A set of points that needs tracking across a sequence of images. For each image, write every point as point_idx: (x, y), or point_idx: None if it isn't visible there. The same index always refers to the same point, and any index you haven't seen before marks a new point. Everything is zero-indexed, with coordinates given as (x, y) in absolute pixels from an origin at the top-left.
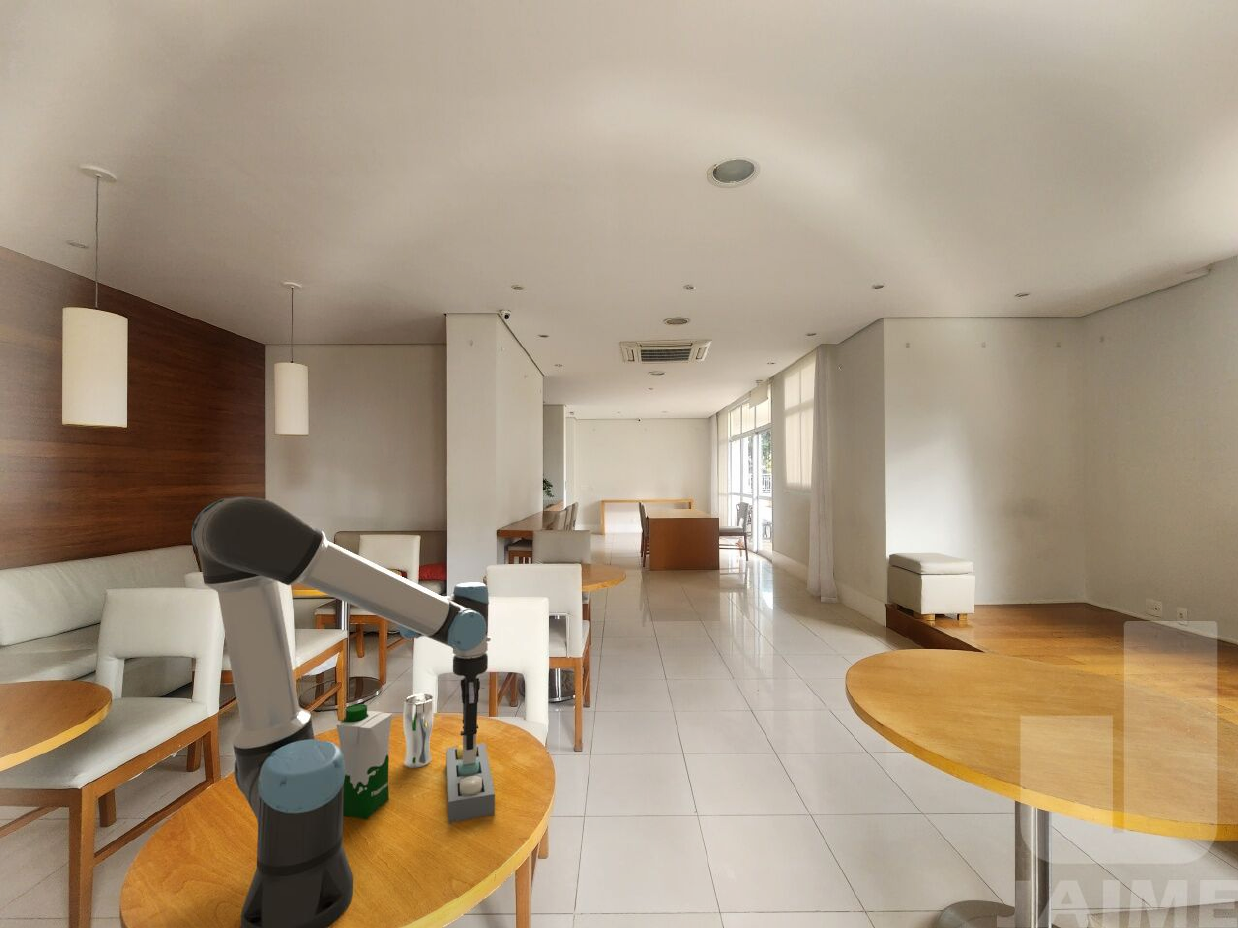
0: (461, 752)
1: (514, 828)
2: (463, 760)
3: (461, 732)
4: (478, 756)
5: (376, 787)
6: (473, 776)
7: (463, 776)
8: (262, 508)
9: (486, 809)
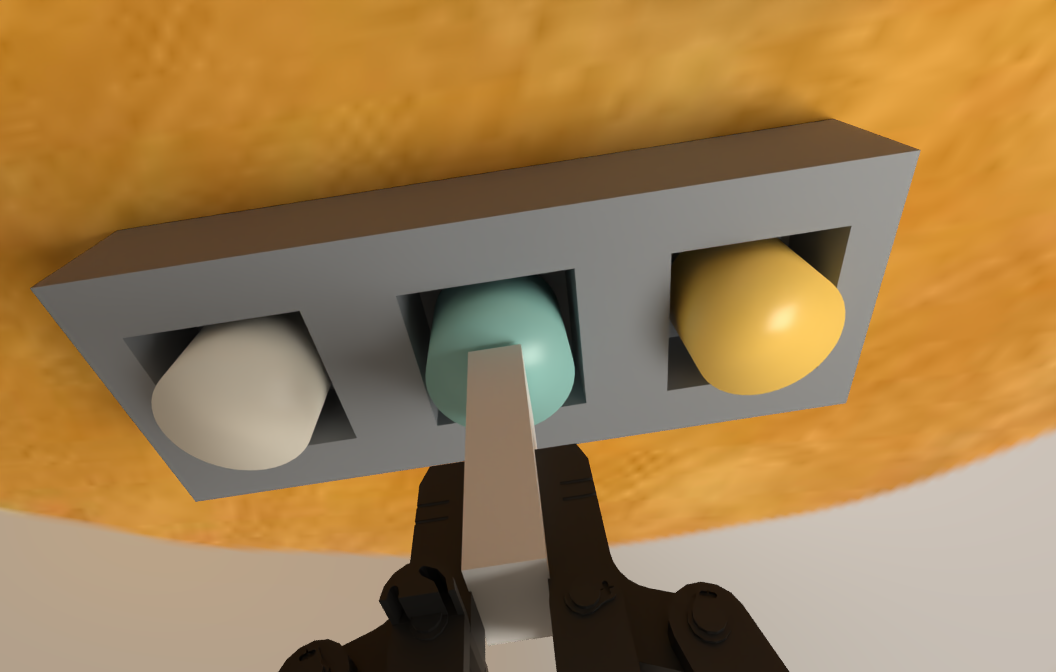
0: (711, 305)
1: (142, 492)
2: (469, 374)
3: (418, 600)
4: (664, 387)
5: None
6: (306, 424)
7: (399, 335)
8: None
9: None
